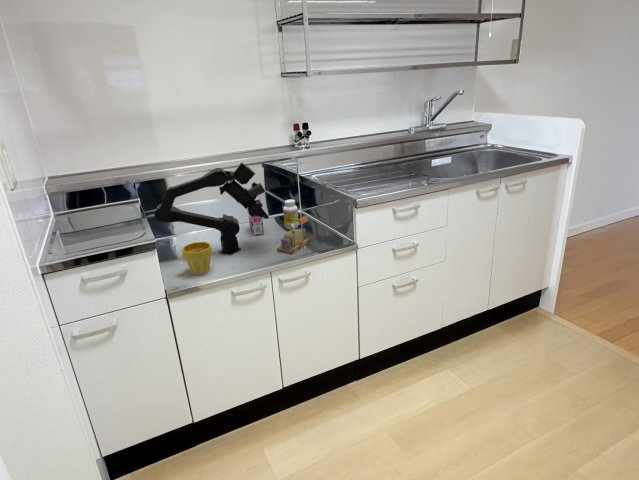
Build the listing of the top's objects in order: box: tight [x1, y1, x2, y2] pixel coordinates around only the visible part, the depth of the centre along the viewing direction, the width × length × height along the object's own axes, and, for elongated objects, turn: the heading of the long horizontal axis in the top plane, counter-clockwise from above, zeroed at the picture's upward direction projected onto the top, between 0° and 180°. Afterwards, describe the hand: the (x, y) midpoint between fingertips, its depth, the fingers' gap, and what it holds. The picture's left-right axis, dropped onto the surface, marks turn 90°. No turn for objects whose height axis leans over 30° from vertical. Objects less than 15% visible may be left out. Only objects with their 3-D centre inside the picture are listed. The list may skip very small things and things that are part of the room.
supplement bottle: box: [282, 199, 300, 230], centre depth 190 cm, size 7×7×13 cm
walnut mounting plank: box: [276, 237, 312, 255], centre depth 170 cm, size 15×7×2 cm, turn 150°
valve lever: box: [290, 215, 309, 229], centre depth 170 cm, size 11×3×2 cm, turn 148°
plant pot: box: [181, 241, 213, 276], centre depth 151 cm, size 10×10×10 cm
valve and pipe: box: [280, 227, 308, 250], centre depth 169 cm, size 14×5×7 cm, turn 150°
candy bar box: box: [248, 195, 264, 237], centre depth 186 cm, size 11×5×16 cm, turn 17°
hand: (267, 217), depth 168 cm, fingers closed
